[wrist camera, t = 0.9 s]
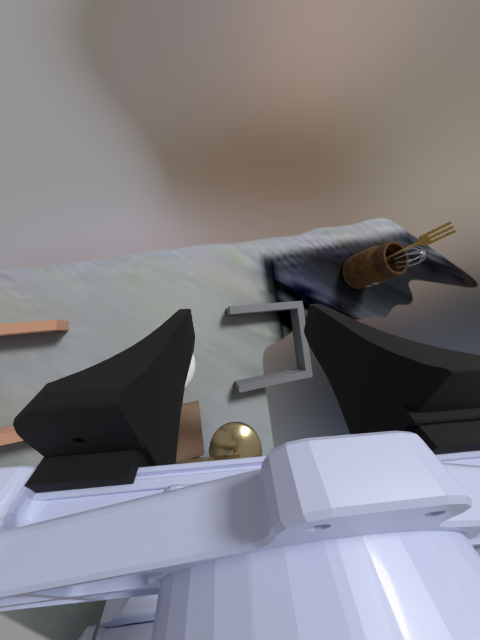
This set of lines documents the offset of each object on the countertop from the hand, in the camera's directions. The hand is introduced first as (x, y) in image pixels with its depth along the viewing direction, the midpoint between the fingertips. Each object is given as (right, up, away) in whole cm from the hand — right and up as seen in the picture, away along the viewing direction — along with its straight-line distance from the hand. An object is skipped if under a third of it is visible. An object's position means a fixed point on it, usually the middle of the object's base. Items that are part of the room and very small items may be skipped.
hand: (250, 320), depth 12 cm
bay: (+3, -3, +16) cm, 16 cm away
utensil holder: (+20, +8, +22) cm, 31 cm away
